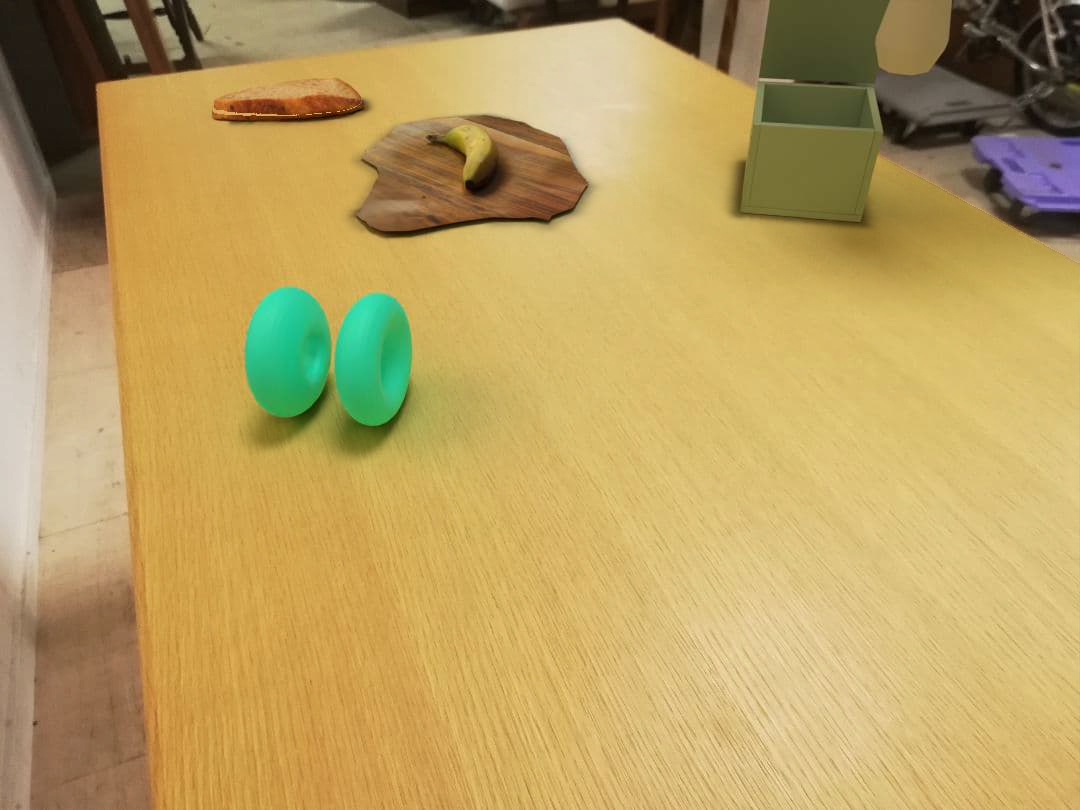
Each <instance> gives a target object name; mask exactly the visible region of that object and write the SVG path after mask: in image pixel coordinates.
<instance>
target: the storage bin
mask: <svg viewBox="0 0 1080 810" xmlns="http://www.w3.org/2000/svg"><path fill="white" fill-rule="evenodd" d="M880 115H881V114H880V111H879V106H878V101H877V96H876V92H875V87H874V86H865V85H863V86H862V85H846V84H845V85H844V84H843V85H842V84H825V83H824V84H822V83H802V82H783V81H782V82H781V81H765V80H764V81H763V80H762V81H761V80H758V81H757V85H756V93H755V100H754V106H753V113H752V118H751V127H750V134H749V140H748V148H747V155H746V161H745V170H744V178H743V184H742V185H743V186H742V192H741V194H742V195H741V201H740V211H739V213H744V214H757V215H769V216H779V217H791V218H802V219H803V218H804V219H817V220H826V221H827V220H829V221H840V222H852V223H853V222H854V223H861V222H862V217H863V213H864V210H865V207H866V203H867V202H866V201H867V198H868V195H869V191H870V186H871V182H872V179H873V175H874V171H875V167H876V164H877V159H878V155H879V151H880V147H881V144H882V140H883V136H884V129H883V128H884V127H883V124H882V120H881V116H880Z"/></svg>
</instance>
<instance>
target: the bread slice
mask: <svg viewBox="0 0 1080 810" xmlns="http://www.w3.org/2000/svg"><path fill="white" fill-rule="evenodd" d="M361 98H362V96H361V95H360V94H359V92H358V91H357V90H356V89H355V88H354V87H353V86H352V85H350V84H349V83H347V82H345V81H344V80H342V79H341V78H339V77H332V78H309V79H307V78H305V79H301V80H288V81H283V82H279V83H275V84H266V85H262V86H257V87H251V88H245V89H243V90H239V91H234V92H231V93H227V94H224V95H222V96H220V97H218V98H216V99H214V100H213V105H214V106H212V108H213V107H214V108H215V109H216V110H224V111H227V112H235V113H236V112H237V113H255V114H256V113H257V114H260V113H261V114H277V115H293V114H294V115H296V114H297V116H256V115H251V116H243V115H225V114H217V113H214V112H213V110H212V109H211V116H212V118H213V119H215V120H228V121H239V122H240V121H282V120H296V119H297V120H298V119H302V120H305V119H311V118H313V119H314V118H316V119H318V118H324V117H329V116H341V115H346V114H350V113H353V112H355V111H359V110H362V109H364V108H365V103H364V100H363V99H362V100H361ZM361 101H362V103H361ZM360 103H361V104H360ZM359 104H360V105H359ZM358 105H359V106H358ZM355 106H357V107H355ZM353 107H355V108H353ZM350 108H352V109H350ZM347 109H349V110H347ZM343 110H345V111H343ZM337 111H340V112H337ZM326 112H331V113H326ZM314 113H322V114H314ZM298 114H299V115H298ZM306 114H312V115H306Z"/></svg>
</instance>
